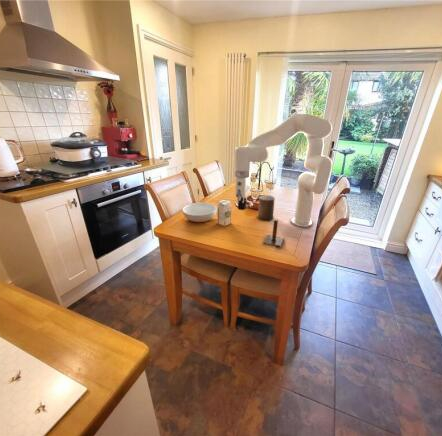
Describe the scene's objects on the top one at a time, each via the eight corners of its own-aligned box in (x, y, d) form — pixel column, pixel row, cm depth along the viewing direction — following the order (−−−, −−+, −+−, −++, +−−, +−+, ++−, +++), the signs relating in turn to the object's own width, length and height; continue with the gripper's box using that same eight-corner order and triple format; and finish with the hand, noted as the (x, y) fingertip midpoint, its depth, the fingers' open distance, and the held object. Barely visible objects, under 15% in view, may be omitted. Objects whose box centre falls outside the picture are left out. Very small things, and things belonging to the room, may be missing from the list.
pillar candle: (272, 221, 146) (274, 199, 140) (256, 219, 148) (258, 197, 142) (273, 215, 155) (275, 193, 149) (258, 213, 157) (260, 192, 150)
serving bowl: (198, 209, 160) (198, 199, 157) (223, 216, 150) (223, 206, 147) (175, 220, 143) (175, 209, 140) (202, 229, 134) (202, 218, 131)
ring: (238, 201, 128) (238, 199, 127) (254, 204, 125) (254, 201, 125) (232, 208, 120) (232, 205, 119) (250, 210, 118) (250, 207, 117)
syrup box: (224, 221, 144) (224, 199, 138) (231, 224, 141) (231, 201, 135) (217, 224, 140) (217, 201, 134) (224, 227, 137) (224, 204, 131)
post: (267, 236, 129) (269, 215, 123) (283, 239, 126) (286, 217, 121) (263, 244, 121) (265, 221, 115) (280, 248, 119) (283, 225, 113)
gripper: (245, 178, 104) (244, 215, 112) (254, 170, 117) (253, 204, 125) (229, 176, 106) (229, 213, 114) (240, 168, 119) (239, 202, 127)
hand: (241, 208), depth 120 cm, fingers closed on ring, 2 cm apart
